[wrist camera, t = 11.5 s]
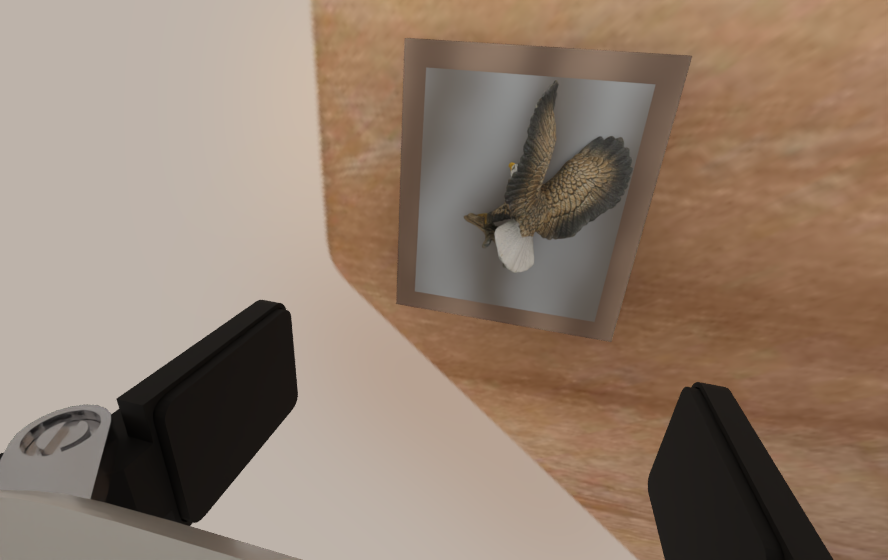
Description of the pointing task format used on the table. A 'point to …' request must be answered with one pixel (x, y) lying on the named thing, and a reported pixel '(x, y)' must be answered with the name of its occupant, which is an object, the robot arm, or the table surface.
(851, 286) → the table surface
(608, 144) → the eagle figurine
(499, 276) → the picture frame
